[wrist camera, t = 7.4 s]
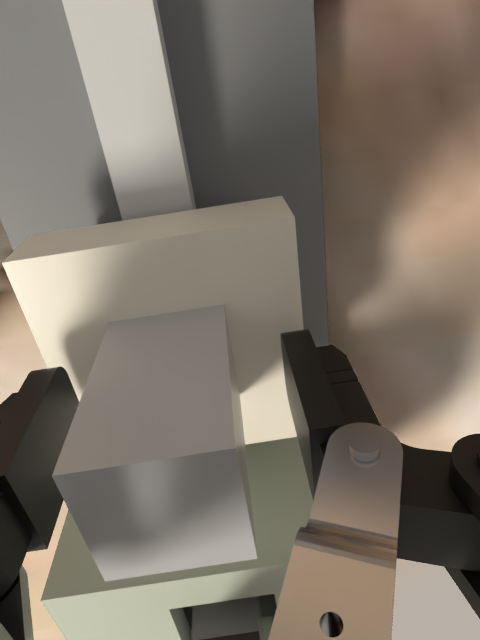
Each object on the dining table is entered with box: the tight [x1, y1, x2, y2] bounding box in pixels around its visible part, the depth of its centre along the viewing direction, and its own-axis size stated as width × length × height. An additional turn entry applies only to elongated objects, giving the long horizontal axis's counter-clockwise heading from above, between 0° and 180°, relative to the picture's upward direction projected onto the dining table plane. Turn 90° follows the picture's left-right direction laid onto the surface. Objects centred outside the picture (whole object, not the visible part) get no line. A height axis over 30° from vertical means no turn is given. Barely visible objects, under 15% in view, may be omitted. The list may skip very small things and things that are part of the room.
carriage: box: [2, 196, 304, 581], centre depth 12 cm, size 7×7×8 cm
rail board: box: [0, 0, 329, 347], centre depth 13 cm, size 10×19×3 cm, turn 8°
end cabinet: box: [41, 437, 313, 640], centre depth 18 cm, size 10×6×8 cm, turn 98°
